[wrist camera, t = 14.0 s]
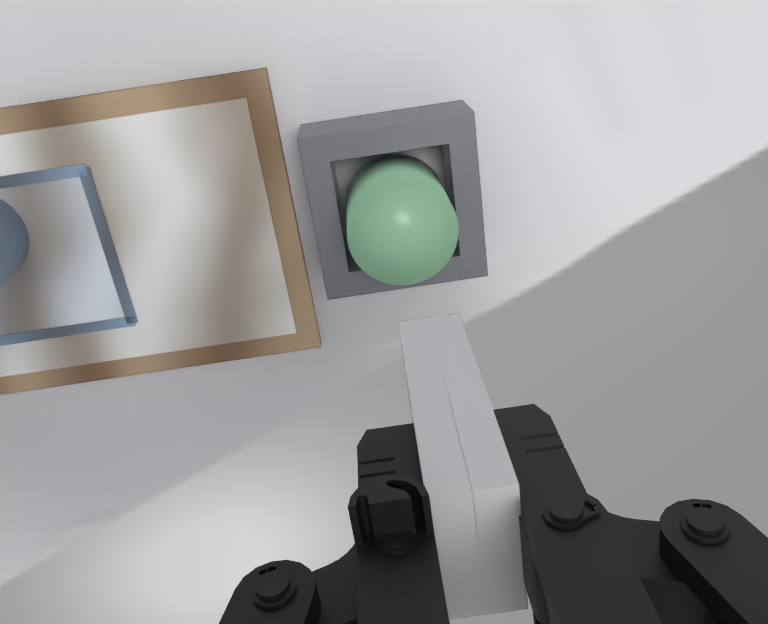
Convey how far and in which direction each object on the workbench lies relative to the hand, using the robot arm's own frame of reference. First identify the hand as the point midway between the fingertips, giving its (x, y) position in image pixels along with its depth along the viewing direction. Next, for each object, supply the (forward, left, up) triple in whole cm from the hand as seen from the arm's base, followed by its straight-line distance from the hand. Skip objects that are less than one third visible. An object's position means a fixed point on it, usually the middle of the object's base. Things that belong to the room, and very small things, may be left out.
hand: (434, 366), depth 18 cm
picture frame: (-15, 0, -16) cm, 22 cm away
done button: (0, 0, -14) cm, 14 cm away
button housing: (0, 0, -16) cm, 16 cm away
